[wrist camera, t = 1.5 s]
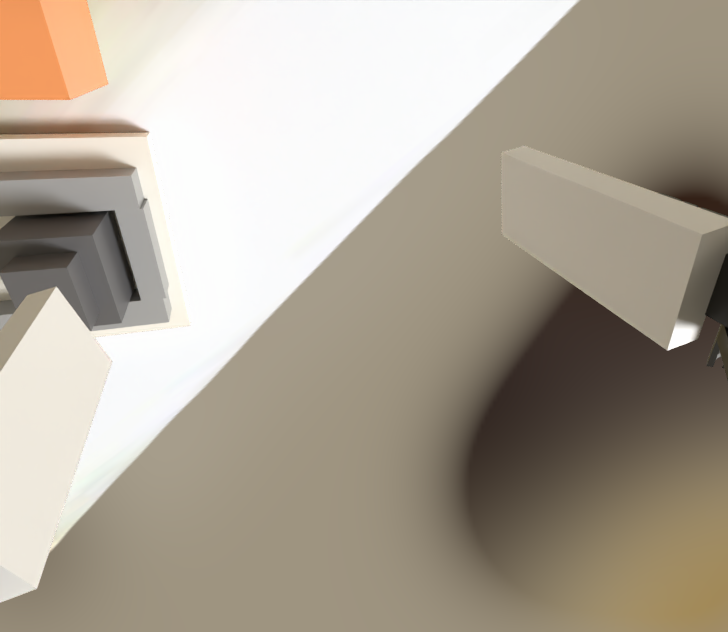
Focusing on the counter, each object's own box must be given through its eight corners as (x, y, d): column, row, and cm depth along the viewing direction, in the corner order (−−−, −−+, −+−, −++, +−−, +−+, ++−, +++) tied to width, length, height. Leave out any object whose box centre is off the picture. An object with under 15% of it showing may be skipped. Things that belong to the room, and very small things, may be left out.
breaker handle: (55, 293, 29) (15, 353, 24) (21, 210, 26) (-34, 258, 20) (134, 285, 30) (115, 341, 25) (111, 206, 27) (82, 249, 22)
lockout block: (18, 83, 24) (-55, 99, 18) (-18, -19, 22) (-118, -43, 15) (108, 84, 25) (70, 99, 19) (83, -13, 23) (29, -33, 16)
